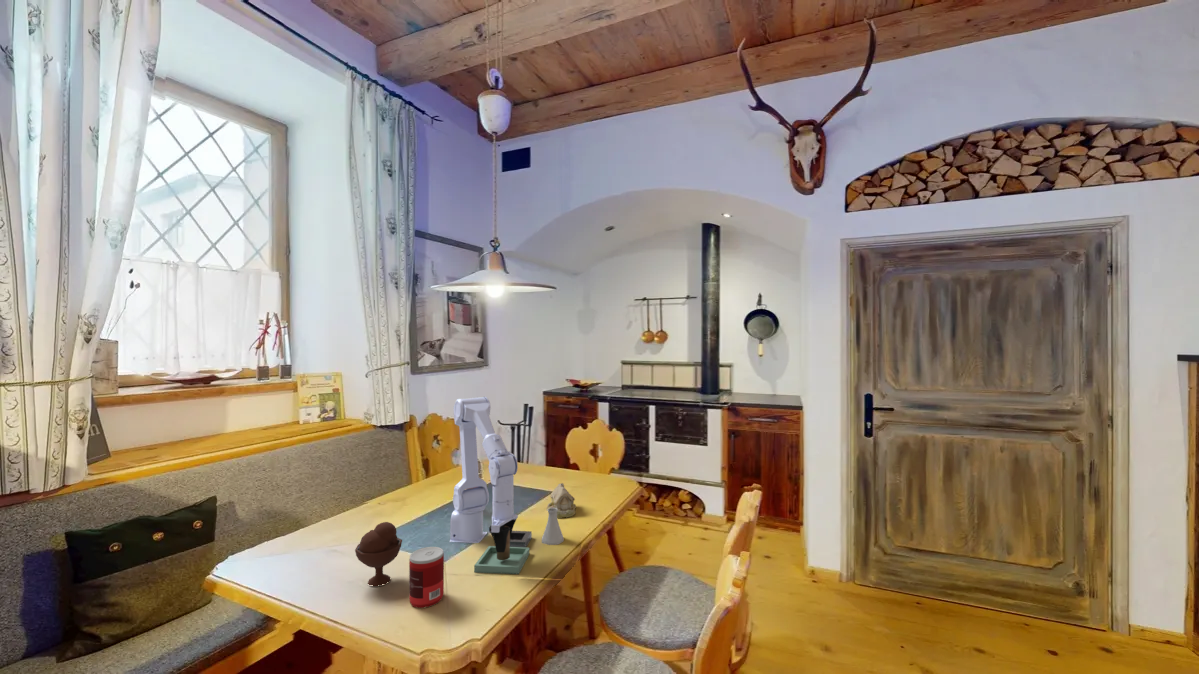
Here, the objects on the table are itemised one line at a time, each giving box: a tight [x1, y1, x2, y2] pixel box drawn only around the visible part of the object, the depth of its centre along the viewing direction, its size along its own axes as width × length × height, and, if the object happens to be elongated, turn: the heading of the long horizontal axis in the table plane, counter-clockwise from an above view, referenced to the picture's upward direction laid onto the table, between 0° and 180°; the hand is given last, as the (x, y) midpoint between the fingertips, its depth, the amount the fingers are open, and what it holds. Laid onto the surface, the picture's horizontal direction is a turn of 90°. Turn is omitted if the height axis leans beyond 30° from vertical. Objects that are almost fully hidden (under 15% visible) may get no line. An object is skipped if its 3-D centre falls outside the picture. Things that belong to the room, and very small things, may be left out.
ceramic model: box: [546, 482, 577, 519], centre depth 174 cm, size 14×11×10 cm
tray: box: [473, 545, 530, 575], centre depth 132 cm, size 12×12×2 cm
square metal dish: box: [510, 530, 533, 548], centre depth 145 cm, size 8×8×2 cm
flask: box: [541, 508, 565, 546], centre depth 147 cm, size 7×7×10 cm
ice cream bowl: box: [354, 521, 403, 586], centre depth 123 cm, size 11×11×15 cm
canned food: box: [408, 546, 445, 609], centre depth 114 cm, size 8×8×11 cm
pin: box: [497, 526, 510, 560], centre depth 132 cm, size 4×4×8 cm
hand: (503, 548), depth 132 cm, fingers closed on pin, 3 cm apart
